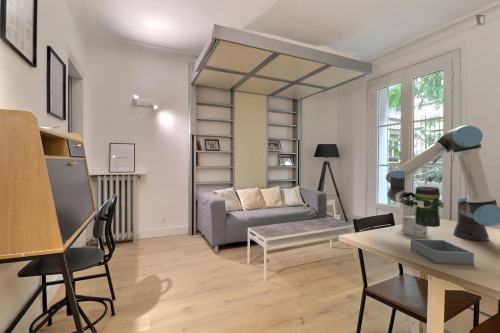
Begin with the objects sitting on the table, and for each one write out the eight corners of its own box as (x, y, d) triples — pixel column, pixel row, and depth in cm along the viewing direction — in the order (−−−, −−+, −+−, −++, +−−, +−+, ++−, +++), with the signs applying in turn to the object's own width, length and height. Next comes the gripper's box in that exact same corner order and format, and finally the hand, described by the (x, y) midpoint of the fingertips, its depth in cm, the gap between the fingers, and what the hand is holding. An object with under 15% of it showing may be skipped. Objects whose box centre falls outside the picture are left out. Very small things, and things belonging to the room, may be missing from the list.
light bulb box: (427, 235, 141) (428, 217, 141) (423, 237, 137) (423, 219, 137) (407, 231, 150) (408, 214, 150) (402, 233, 146) (403, 215, 146)
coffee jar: (441, 225, 113) (441, 186, 113) (438, 228, 108) (438, 188, 108) (416, 221, 120) (417, 185, 120) (413, 224, 115) (413, 186, 115)
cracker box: (412, 231, 151) (413, 198, 150) (402, 229, 156) (402, 197, 155) (420, 227, 159) (421, 196, 159) (410, 226, 164) (410, 195, 164)
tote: (443, 249, 118) (443, 239, 118) (473, 264, 100) (474, 253, 100) (410, 248, 119) (410, 238, 119) (435, 263, 101) (435, 251, 101)
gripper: (427, 205, 131) (458, 213, 108) (386, 204, 133) (408, 212, 110) (427, 191, 131) (458, 197, 108) (386, 191, 133) (409, 196, 110)
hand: (433, 205), depth 109 cm, fingers closed on coffee jar, 9 cm apart
